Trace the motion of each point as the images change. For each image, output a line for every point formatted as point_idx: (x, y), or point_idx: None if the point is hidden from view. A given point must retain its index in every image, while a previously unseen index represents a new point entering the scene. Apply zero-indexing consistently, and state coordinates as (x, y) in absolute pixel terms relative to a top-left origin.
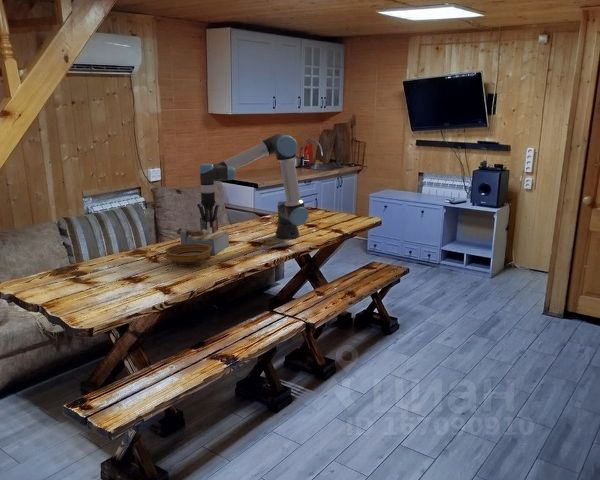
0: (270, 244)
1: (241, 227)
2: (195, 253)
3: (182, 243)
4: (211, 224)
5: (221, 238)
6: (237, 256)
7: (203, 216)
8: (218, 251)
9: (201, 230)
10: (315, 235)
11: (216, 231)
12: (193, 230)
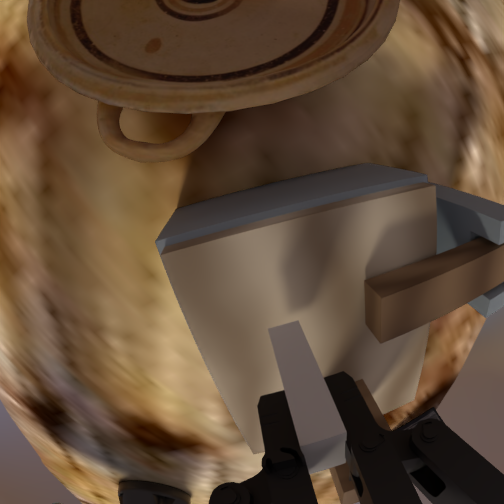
0: (111, 443)
1: None
2: (242, 62)
3: (448, 191)
4: (271, 433)
5: None
6: (52, 262)
7: (448, 482)
8: None
9: (436, 417)
10: (107, 496)
11: None
12: (460, 305)
